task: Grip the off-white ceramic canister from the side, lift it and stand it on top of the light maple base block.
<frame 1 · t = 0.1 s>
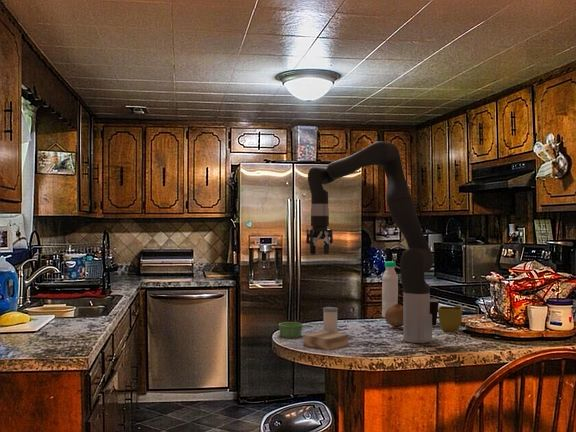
hand: (319, 254, 229), 29 cm above the worktop, tool pointing down, fingers open, 8 cm apart
flower pot: (450, 331, 217), on the worktop
onion: (396, 328, 222), on the worktop
ramekin: (290, 336, 206), on the worktop
base block: (325, 344, 190), on the worktop
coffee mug: (428, 324, 232), on the worktop
water bottle: (390, 317, 247), on the worktop
canister: (330, 338, 202), on the worktop
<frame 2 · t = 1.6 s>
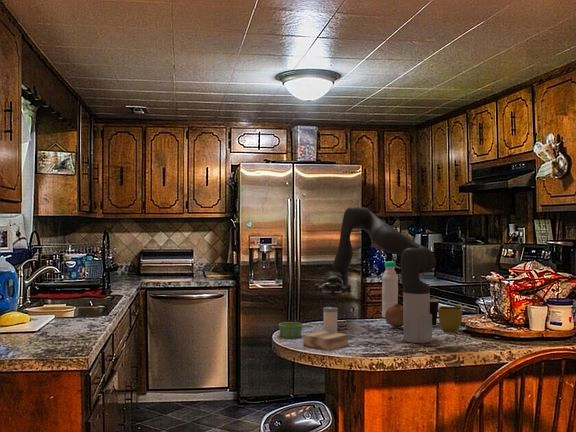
hand: (331, 290, 213), 16 cm above the worktop, tool horizontal, fingers open, 8 cm apart
nothing on the worktop moved.
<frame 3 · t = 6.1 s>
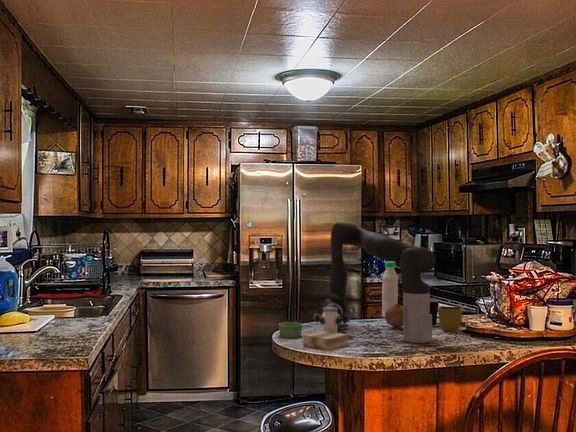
hand: (330, 321, 199), 7 cm above the worktop, tool horizontal, fingers closed on canister, 5 cm apart
canister: (330, 338, 202), on the worktop, touching gripper
everything else where it was.
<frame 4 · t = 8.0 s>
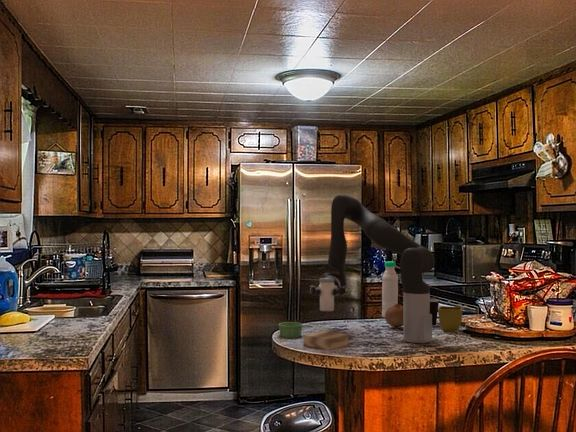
hand: (326, 292, 191), 18 cm above the worktop, tool horizontal, fingers closed on canister, 5 cm apart
canister: (326, 310, 194), point 11 cm above the worktop, touching gripper
everything else where it was.
when the fingers open (11 cm above the worktop, at t = 10.3 s): canister drops 1 cm, resting on base block.
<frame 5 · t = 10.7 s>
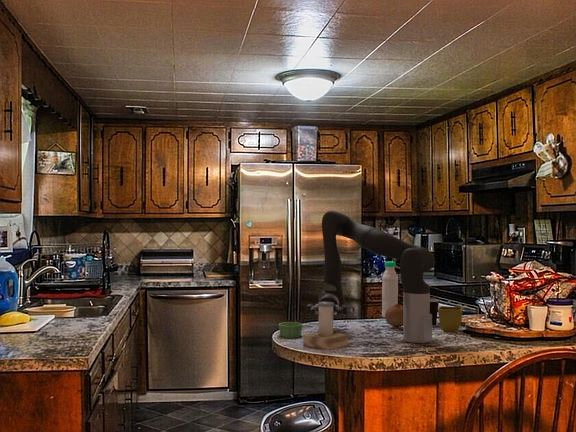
hand: (325, 312, 189), 12 cm above the worktop, tool horizontal, fingers open, 8 cm apart
canister: (325, 334, 191), point 4 cm above the worktop, touching base block
everything else where it was.
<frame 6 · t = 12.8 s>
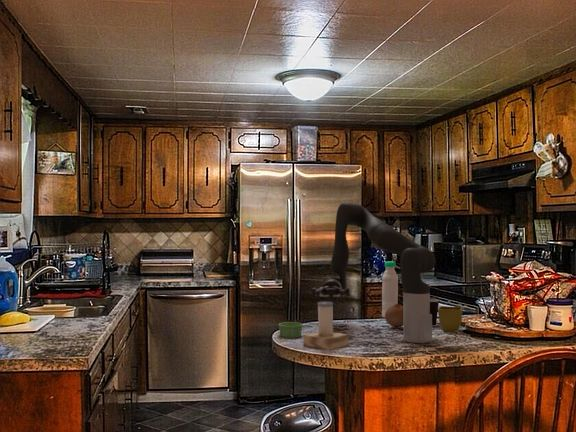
hand: (329, 293, 203), 16 cm above the worktop, tool horizontal, fingers open, 8 cm apart
nothing on the worktop moved.
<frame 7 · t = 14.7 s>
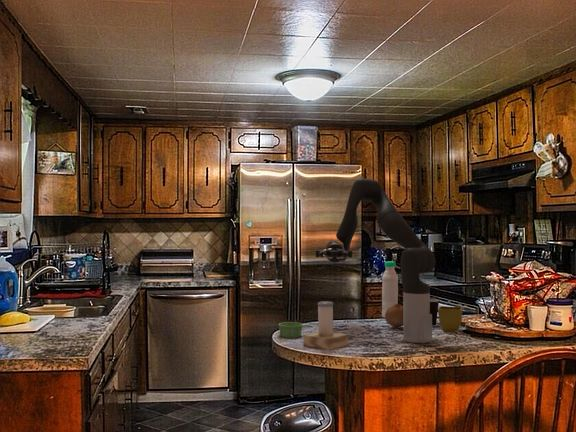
hand: (333, 254, 210), 30 cm above the worktop, tool horizontal, fingers open, 8 cm apart
nothing on the worktop moved.
at the end: canister inside the target area on the base block (0.1 cm from its centre), point 3.6 cm above the base block's base; canister tilted 1°; the gripper is holding nothing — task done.
